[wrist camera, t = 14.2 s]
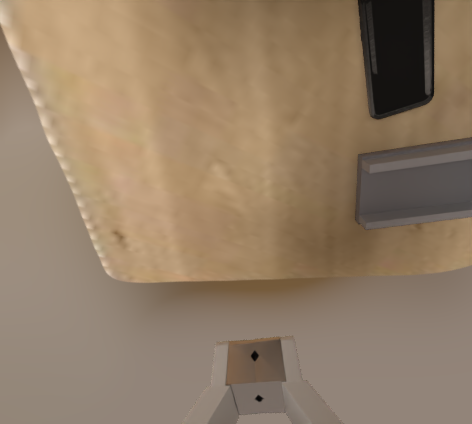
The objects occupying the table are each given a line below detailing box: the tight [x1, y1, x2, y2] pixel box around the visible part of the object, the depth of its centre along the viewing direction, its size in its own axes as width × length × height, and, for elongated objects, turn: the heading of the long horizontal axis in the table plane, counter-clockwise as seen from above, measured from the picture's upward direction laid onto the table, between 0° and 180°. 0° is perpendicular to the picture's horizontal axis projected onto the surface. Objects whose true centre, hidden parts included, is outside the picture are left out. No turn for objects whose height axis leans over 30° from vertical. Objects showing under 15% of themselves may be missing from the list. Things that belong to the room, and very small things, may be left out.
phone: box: [358, 0, 434, 119], centre depth 31 cm, size 8×1×15 cm
